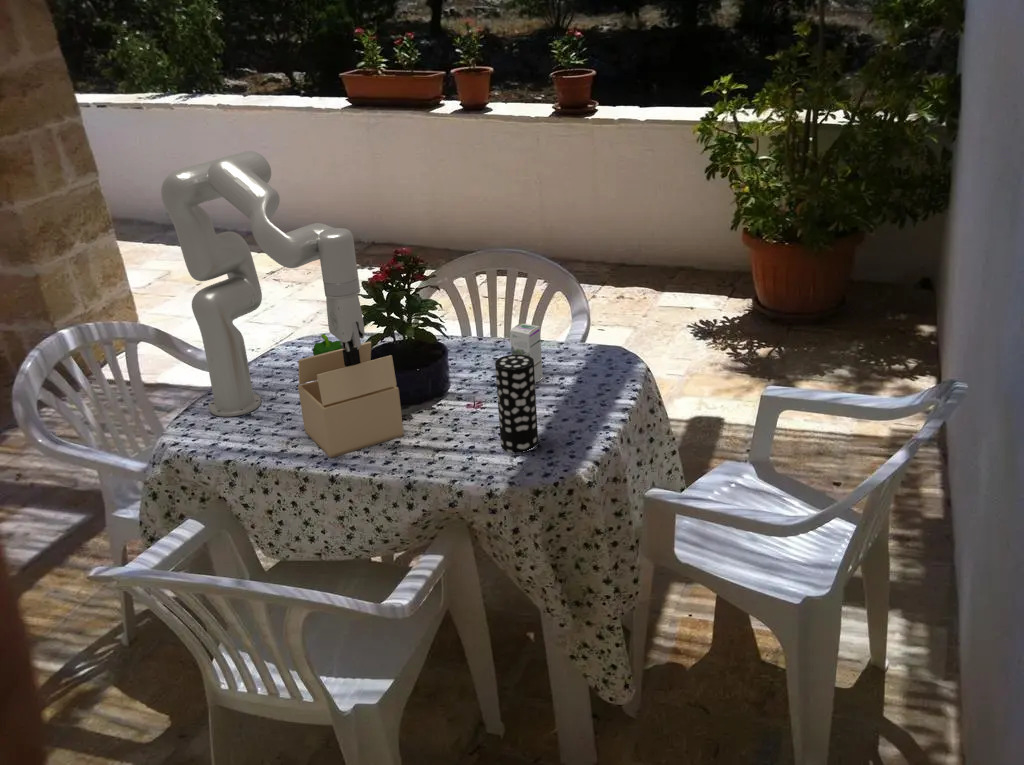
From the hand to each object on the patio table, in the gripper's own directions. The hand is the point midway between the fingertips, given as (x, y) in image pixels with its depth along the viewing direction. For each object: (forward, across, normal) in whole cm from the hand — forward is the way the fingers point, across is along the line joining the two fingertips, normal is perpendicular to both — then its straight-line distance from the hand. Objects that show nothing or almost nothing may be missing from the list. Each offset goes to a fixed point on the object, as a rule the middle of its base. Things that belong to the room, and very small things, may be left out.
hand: (352, 365), depth 231 cm
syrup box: (+19, -6, +48) cm, 52 cm away
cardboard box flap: (+3, +2, 0) cm, 3 cm away
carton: (+19, -5, 0) cm, 20 cm away
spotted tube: (+19, +23, +28) cm, 41 cm away
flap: (+3, -11, 0) cm, 11 cm away
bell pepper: (+19, -44, +10) cm, 49 cm away
